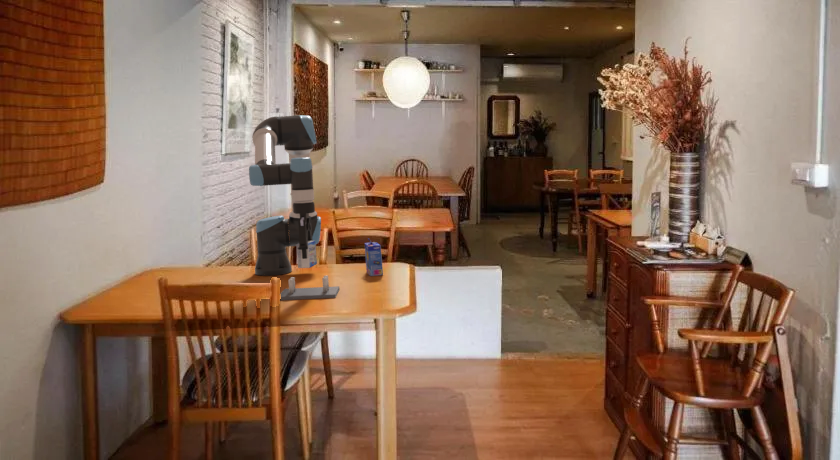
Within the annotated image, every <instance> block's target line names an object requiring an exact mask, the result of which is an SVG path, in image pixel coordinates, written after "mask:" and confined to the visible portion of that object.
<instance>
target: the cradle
mask: <svg viewBox="0 0 840 460" xmlns="http://www.w3.org/2000/svg"><path fill="white" fill-rule="evenodd" d="M295 280H296V277H293V276H291V277H290V278H288V281H287V282H288V288H284V289H283V290H282V291H281V292H280V294H281V300H280V301H289V300H290V301H292V300H295V301H297V300H315V299H316V300H317V299H336V298H337V296H338V294H339V291H340V286H329V285H330V283H329V282H330V281H329V275H323V277H322V279H321V280H322V286H320V287H319V286H317V287H299V288H298V287H296V281H295Z"/></svg>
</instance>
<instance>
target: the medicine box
mask: <svg viewBox="0 0 840 460" xmlns="http://www.w3.org/2000/svg"><path fill="white" fill-rule="evenodd" d="M295 247H296V256H297V257H296V259H297V267H298V268H299V269H303V268H302V265H301V250H298V247H299V244H296V246H295ZM316 247H317V244H315V241H308V249H309V264H310V268H312V267H314V266H315V265H316V266H317V264H318V261H317V260H318V259H317V248H316Z"/></svg>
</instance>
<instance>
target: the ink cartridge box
mask: <svg viewBox="0 0 840 460" xmlns="http://www.w3.org/2000/svg"><path fill="white" fill-rule="evenodd" d="M367 240H368V241H369V242H364V254H365V257H364V258H365V267H366V268H365V269H366V273H367V275H368V276H370V277H375V276H376V277H377V276H383V275H384V269H383V258H382V246H381V244H379V243H378V242H376V241H373V242H372V240H371V239H370V238H367Z"/></svg>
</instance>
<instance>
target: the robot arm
mask: <svg viewBox="0 0 840 460" xmlns="http://www.w3.org/2000/svg"><path fill="white" fill-rule="evenodd" d="M317 143H318V142H317V137H316V131H315V127H314V121H313V118H312V117H311V116H310V115H305V114H304V115H303V114H300V115H284V116H283V115H282V116H281V115H280V116H272V117H268V118H266V119H264V120H263V121H261V122H260V123H259V124H257V126H256V127H255V128H254V130H253V133H252V144H253V146H254V164H253V165H249V167H248V176H249V183H250V186H252V187H257V186H258V187H265V186H279V185H281V186H282V185H290V196H291V206H292V207H291V211H290V213H289V214H288V218H285V216H284V215H275V216H274V215H273V216H269V217H265V218H261V219H259V220H257V221H256V223H255V228H256V229H255V233H256V241H257V242H256V244H257V245H256V247H257V259H256V262H255V266H254V274H255V275H257V276H263V277H264V276H265V277H267V276H279V275H284V274H289V273H291V272H292V271H293V269H292V268H293V267H292V264H291V262H290V259H289V256H288V255H287V247H288V248H289V247H296V244H299V247H298V250H301V265H302V268H301V269H310V268H311V267H310V264H309V249H308V241H315V244H316V245H317V244H319V243H320V240H321V230H322V217H321V216H318V212H317V211H316V209H315V201H314V200H315V191H314V176H313V175H314V173H313V163H312V158H311V152H312V151H313V150H314V145H316V144H317ZM276 146H284V147H283V148H284V151H285V152H287V154H288V163H277V162H276Z"/></svg>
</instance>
